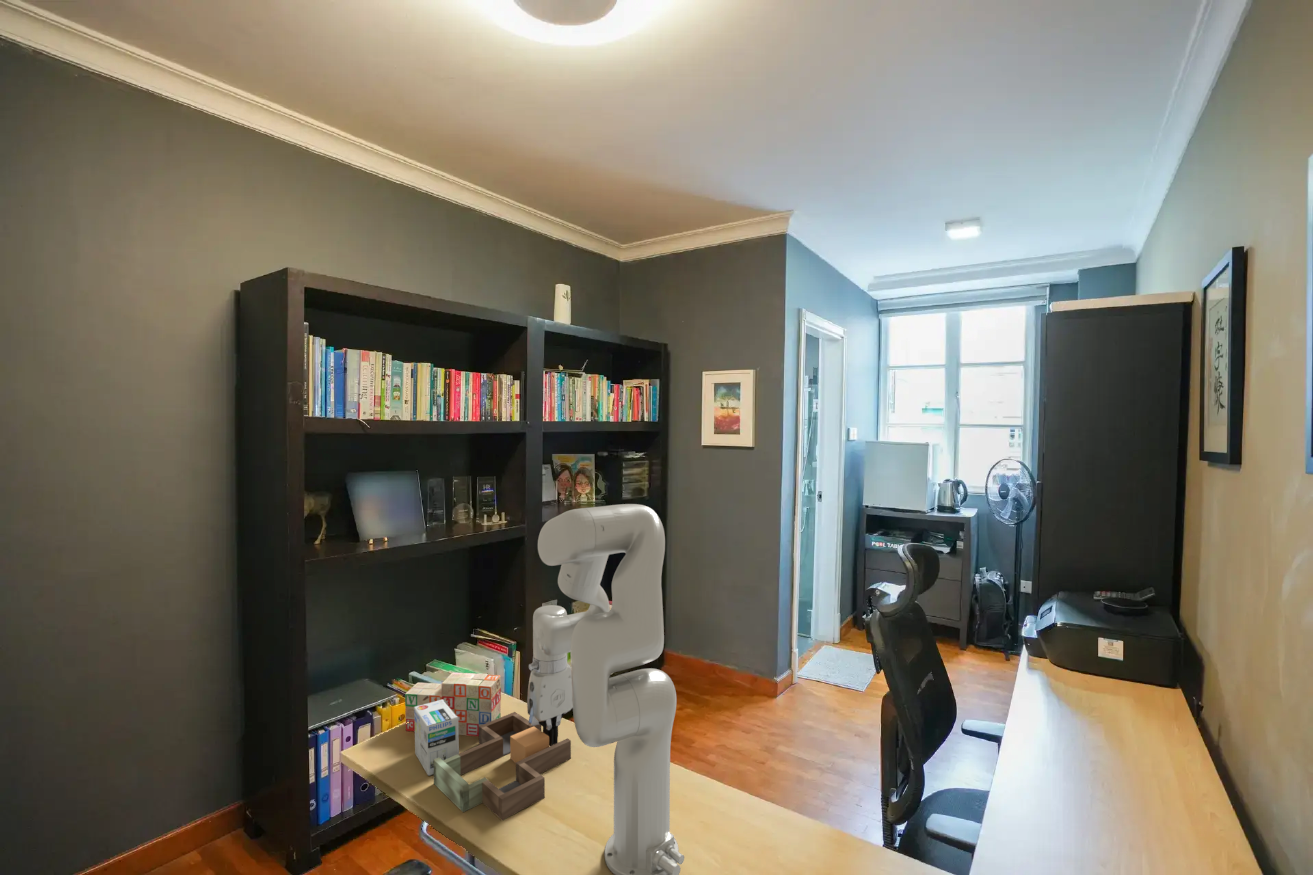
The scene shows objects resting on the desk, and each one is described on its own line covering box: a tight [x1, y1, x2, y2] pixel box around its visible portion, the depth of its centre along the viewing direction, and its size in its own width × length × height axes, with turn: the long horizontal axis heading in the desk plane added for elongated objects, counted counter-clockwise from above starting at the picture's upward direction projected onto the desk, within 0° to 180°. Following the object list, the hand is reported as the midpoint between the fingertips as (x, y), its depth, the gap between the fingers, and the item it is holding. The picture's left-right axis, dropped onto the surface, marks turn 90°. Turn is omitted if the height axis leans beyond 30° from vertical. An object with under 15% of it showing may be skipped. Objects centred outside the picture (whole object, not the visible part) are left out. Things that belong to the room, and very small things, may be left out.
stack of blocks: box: [404, 672, 502, 737], centre depth 143 cm, size 21×6×12 cm, turn 84°
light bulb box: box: [414, 699, 460, 776], centre depth 130 cm, size 11×7×11 cm, turn 37°
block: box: [509, 726, 550, 764], centre depth 131 cm, size 6×6×5 cm
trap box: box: [433, 711, 572, 821], centre depth 126 cm, size 27×25×5 cm
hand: (550, 742), depth 135 cm, fingers closed
